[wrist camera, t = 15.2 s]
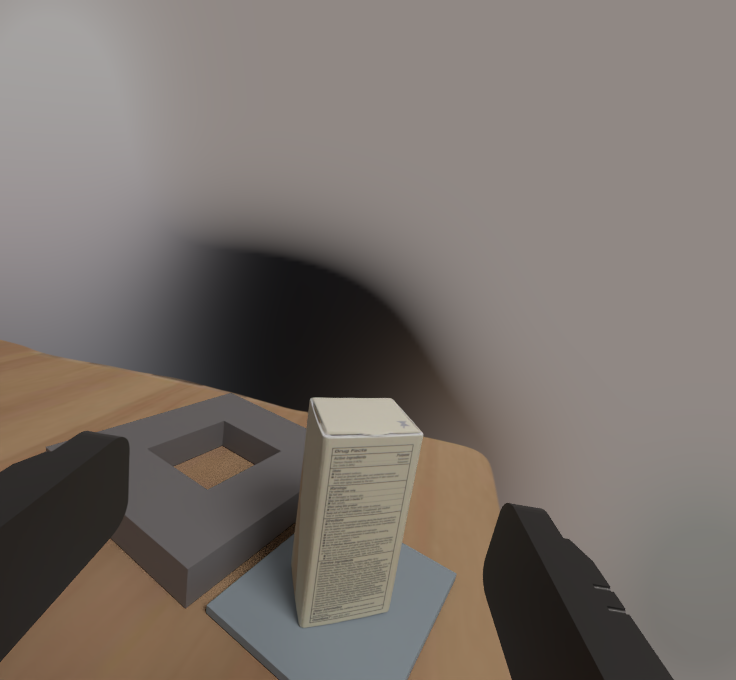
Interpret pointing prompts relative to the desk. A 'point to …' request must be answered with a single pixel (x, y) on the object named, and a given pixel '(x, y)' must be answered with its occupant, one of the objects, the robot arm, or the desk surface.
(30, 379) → the desk surface
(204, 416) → the socket block
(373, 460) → the box
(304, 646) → the pad
